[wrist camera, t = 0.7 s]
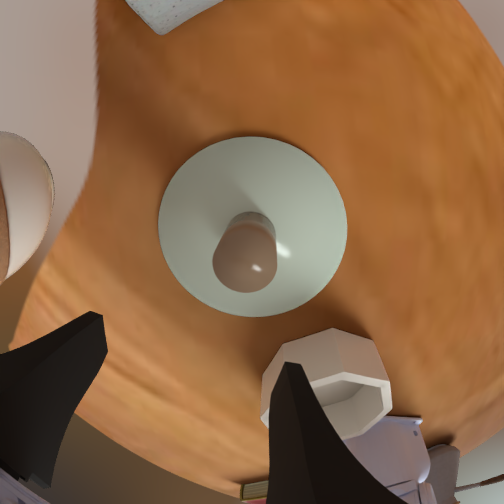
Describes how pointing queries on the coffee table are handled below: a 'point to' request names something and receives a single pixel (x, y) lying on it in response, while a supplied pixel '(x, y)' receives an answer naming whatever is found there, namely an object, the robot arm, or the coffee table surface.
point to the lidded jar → (22, 201)
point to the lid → (252, 226)
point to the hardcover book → (254, 492)
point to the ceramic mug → (168, 12)
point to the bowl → (336, 379)
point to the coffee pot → (448, 474)
